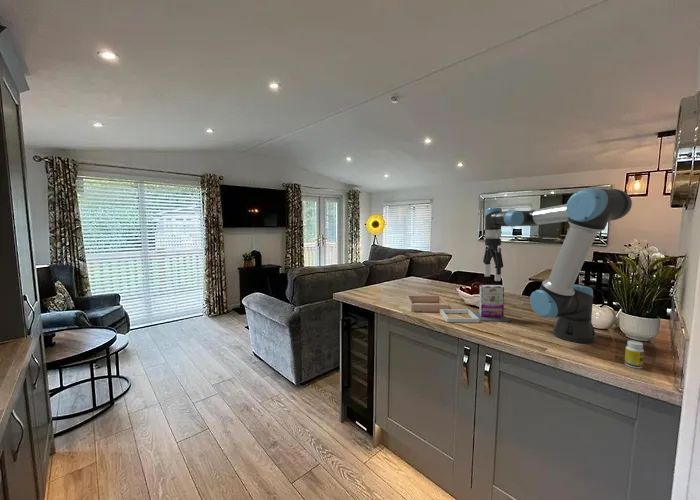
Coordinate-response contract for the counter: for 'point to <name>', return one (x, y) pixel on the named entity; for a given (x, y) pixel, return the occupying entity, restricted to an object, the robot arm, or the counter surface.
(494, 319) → the mat
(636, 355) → the supplement bottle
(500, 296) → the candy bar box
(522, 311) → the counter surface
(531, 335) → the counter surface
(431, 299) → the pinkish tan tray
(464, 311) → the grey square frame
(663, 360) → the counter surface
